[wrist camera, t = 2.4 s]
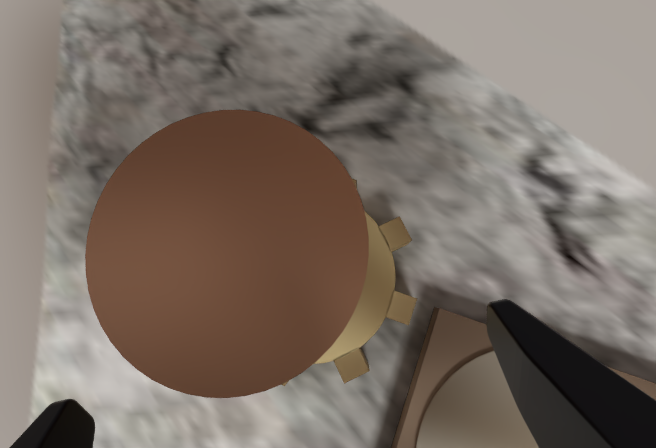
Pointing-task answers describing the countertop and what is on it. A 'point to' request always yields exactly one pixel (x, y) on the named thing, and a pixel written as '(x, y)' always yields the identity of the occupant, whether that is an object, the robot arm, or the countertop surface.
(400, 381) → the countertop surface
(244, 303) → the gear spindle
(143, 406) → the countertop surface
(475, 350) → the gear board
